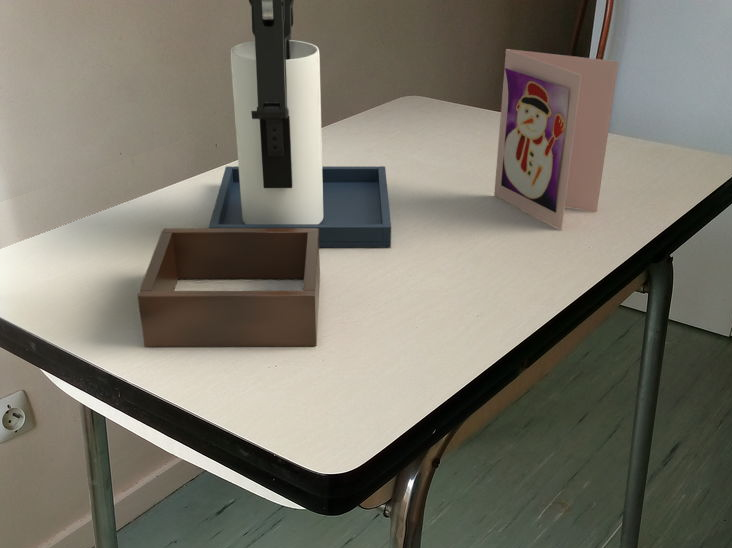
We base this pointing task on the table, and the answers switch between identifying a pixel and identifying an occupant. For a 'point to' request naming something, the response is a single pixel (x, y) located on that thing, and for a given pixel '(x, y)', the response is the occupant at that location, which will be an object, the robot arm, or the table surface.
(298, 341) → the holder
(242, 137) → the cup
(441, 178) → the table surface
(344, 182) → the tray
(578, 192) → the greeting card
